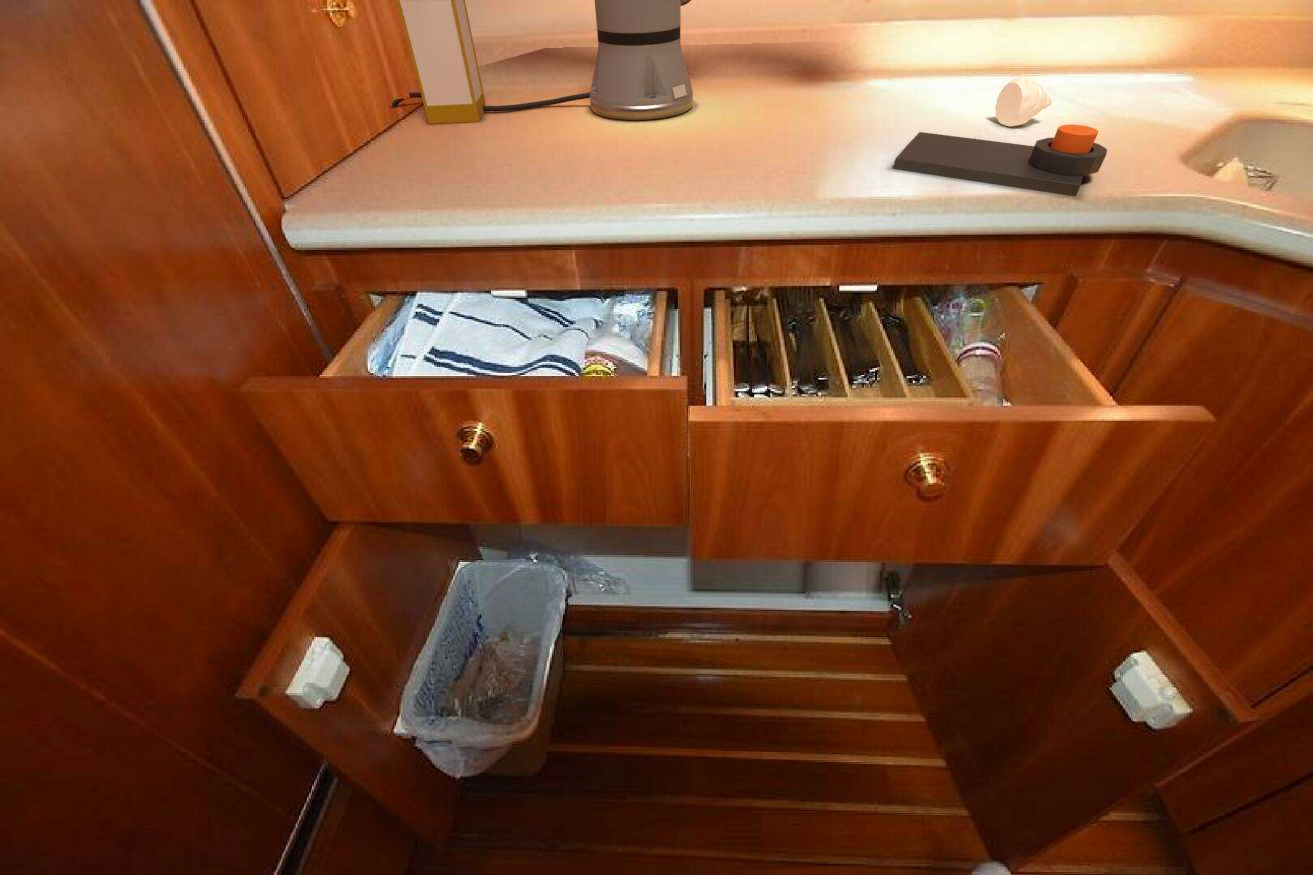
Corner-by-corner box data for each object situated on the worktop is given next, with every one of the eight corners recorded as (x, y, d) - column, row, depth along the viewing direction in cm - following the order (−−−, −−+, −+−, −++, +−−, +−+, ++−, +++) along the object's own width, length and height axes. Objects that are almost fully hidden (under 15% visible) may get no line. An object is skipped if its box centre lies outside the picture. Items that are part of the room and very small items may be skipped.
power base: (892, 169, 65) (899, 140, 63) (916, 142, 72) (923, 115, 70) (1089, 199, 58) (1104, 167, 56) (1095, 165, 65) (1109, 136, 63)
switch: (1047, 153, 60) (1056, 131, 59) (1051, 143, 63) (1059, 122, 61) (1087, 158, 59) (1097, 136, 58) (1089, 148, 61) (1099, 126, 60)
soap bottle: (420, 135, 80) (355, -99, 64) (439, 110, 89) (387, -99, 73) (473, 132, 80) (422, -101, 64) (486, 108, 90) (444, -101, 74)
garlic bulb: (1054, 127, 75) (1074, 78, 72) (1015, 132, 74) (1032, 83, 70) (1024, 116, 79) (1041, 69, 75) (986, 120, 78) (1001, 73, 74)
